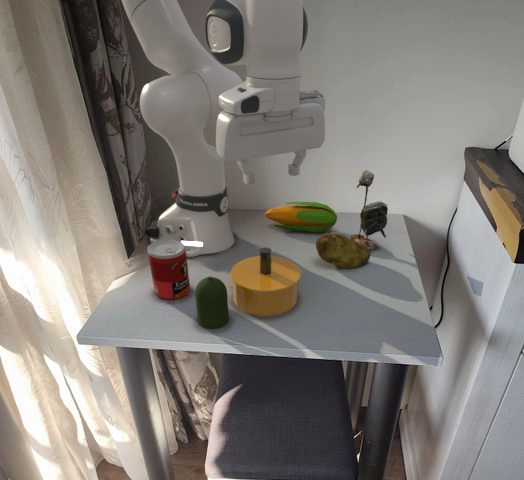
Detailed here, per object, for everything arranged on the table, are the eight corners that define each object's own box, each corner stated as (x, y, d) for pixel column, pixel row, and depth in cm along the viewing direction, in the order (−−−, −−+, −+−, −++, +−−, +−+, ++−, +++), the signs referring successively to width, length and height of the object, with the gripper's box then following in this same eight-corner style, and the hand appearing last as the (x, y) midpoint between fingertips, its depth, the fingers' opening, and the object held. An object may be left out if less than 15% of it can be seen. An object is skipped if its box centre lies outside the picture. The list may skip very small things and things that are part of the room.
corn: (337, 209, 120) (261, 203, 123) (334, 237, 124) (261, 231, 127) (339, 200, 126) (266, 195, 129) (336, 227, 130) (266, 222, 133)
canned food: (180, 304, 99) (174, 258, 93) (148, 297, 102) (139, 252, 95) (196, 287, 105) (191, 242, 98) (165, 281, 107) (158, 236, 100)
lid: (217, 285, 94) (215, 258, 90) (250, 255, 105) (249, 229, 101) (283, 302, 89) (284, 274, 85) (310, 268, 100) (312, 242, 96)
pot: (222, 308, 98) (220, 282, 94) (251, 279, 108) (250, 254, 104) (281, 324, 94) (281, 297, 90) (306, 292, 103) (307, 266, 99)
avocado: (192, 326, 93) (186, 281, 87) (208, 311, 98) (204, 266, 91) (219, 334, 91) (215, 288, 84) (234, 318, 95) (232, 273, 89)
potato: (366, 277, 108) (370, 245, 103) (311, 269, 111) (314, 238, 106) (369, 260, 114) (374, 230, 109) (318, 254, 117) (320, 224, 112)
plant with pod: (387, 254, 117) (401, 173, 104) (341, 252, 118) (351, 172, 105) (383, 240, 123) (396, 162, 111) (340, 238, 124) (349, 161, 111)
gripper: (315, 85, 83) (310, 165, 91) (209, 96, 75) (214, 182, 84) (336, 92, 78) (328, 175, 87) (225, 104, 71) (229, 193, 80)
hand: (271, 178), depth 85 cm, fingers open, 8 cm apart
